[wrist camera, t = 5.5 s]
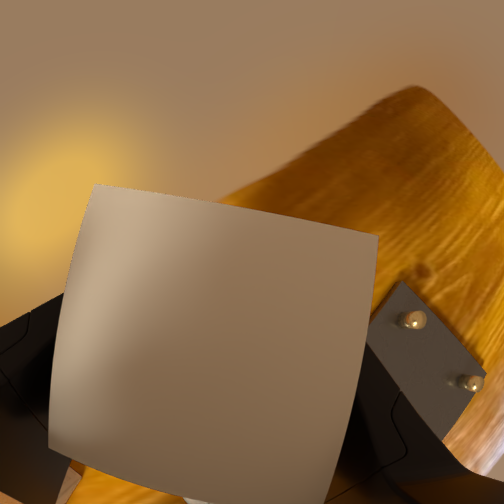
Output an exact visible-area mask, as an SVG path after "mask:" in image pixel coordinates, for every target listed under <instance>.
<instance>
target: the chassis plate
mask: <svg viewBox="0 0 504 504" xmlns="http://www.w3.org/2000/svg"><path fill="white" fill-rule="evenodd" d="M366 342H367V343H368V345H369V346H370V347H371V349H372V350H373V352H374V353H375V354H376V356H377V357H378V358H379V360H380V361H381V362H382V364H383V365H384V367H385V368H386V369H387V371H388V372H389V374H390V375H391V376H392V378H393V379H394V380H395V382H396V383H397V385H398V386H399V387H400V391H402V392H403V393H404V394H405V396H406V397H407V399H408V400H409V401H410V403H411V404H412V405H413V407H414V408H415V409H416V411H417V412H418V414H419V415H420V416H421V417H422V419H423V420H424V421H425V422H426V424H427V425H428V426H429V427H430V428H431V430H432V431H433V432H434V433H435V434H436V436H437V437H438V438H439V439H440V440H441V441H442V440H443V439H444V437H445V436H446V435H447V433H448V432H449V431H450V429H451V428H452V427H453V425H454V424H455V423H456V421H457V420H458V418H459V417H460V415H461V414H462V413H463V411H464V410H465V408H466V407H467V405H468V404H469V402H470V400H471V399H472V397H473V396H474V394H475V393H476V392H480V391H481V390H482V388H483V386H484V378H485V376H486V374H487V373H486V372H485V371H484V370H483V368H482V367H481V366H480V365H479V364H478V362H477V361H476V360H475V359H474V358H473V357H472V355H471V354H470V353H469V352H468V351H467V350H466V348H465V347H464V346H463V345H462V344H461V343H460V342H459V340H458V339H457V338H456V337H455V336H454V335H453V334H452V333H451V331H450V330H449V329H448V328H447V327H446V326H445V325H444V324H443V323H442V322H441V321H440V319H439V318H438V317H437V316H436V315H435V314H434V313H433V312H432V311H431V310H430V309H429V308H428V307H427V306H426V304H425V303H424V302H423V301H422V300H421V299H420V298H419V297H418V296H417V295H416V294H415V293H414V292H413V291H412V290H411V289H410V288H409V287H408V286H407V285H406V284H405V283H404V282H403V281H399V282H396V283H395V285H394V286H393V287H392V289H391V290H390V291H389V293H388V294H387V296H386V297H385V298H384V300H383V301H382V302H381V304H380V305H379V306H378V308H377V309H376V310H375V312H374V313H373V314H372V315H371V317H370V318H369V324H368V330H367V336H366Z"/></svg>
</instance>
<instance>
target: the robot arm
mask: <svg viewBox="0 0 504 504" xmlns="http://www.w3.org/2000/svg"><path fill="white" fill-rule="evenodd" d="M63 296H64V293H62V294H61V295H59V296H57V297H55V298H53V299H51V300H49V301H47V302H46V303H44V304H42V305H40V306H39V307H37V308H35V309H33V310H31V313H30V312H28V313H26V314H24V315H22V316H21V317H19V318H17V319H15V320H13V321H11V322H9V323H8V324H6V325H4V326H2V327H0V504H56V501H57V498H58V495H59V493H60V490H61V487H62V484H63V481H64V479H65V476H66V473H67V470H68V468H69V465H70V462H71V460H72V459H71V458H69V457H67V456H64V455H62V454H60V453H58V452H56V451H54V450H52V449H50V448H48V428H49V402H50V388H51V376H52V367H53V358H54V350H55V343H56V336H57V329H58V323H59V317H60V312H61V306H62V301H63ZM324 504H504V482H502V481H499V480H495V479H492V478H489V477H485V476H482V475H479V474H476V473H474V472H472V471H470V470H468V469H467V468H465V467H464V466H463V465H462V464H461V463H460V462H459V461H458V460H457V459H456V458H455V457H454V456H453V454H452V453H451V452H450V451H449V450H448V448H447V447H446V446H445V445H444V444H443V443H442V441H441V440H440V439H439V438H438V437H437V436H436V434H435V433H434V432H433V431H432V430H431V428H430V427H429V426H428V425H427V424H426V422H425V421H424V420H423V419H422V417H421V416H420V415H419V414H418V412H417V411H416V409H415V408H414V407H413V405H412V404H411V403H410V401H409V400H408V399H407V397H406V396H405V394H404V393H403V392H402V391H400V387H399V386H398V385H397V383H396V382H395V380H394V379H393V378H392V376H391V375H390V374H389V372H388V371H387V369H386V368H385V367H384V365H383V364H382V362H381V361H380V360H379V358H378V357H377V356H376V354H375V353H374V352H373V350H372V349H371V347H370V346H369V345H368V343H367V342H365V348H364V353H363V359H362V364H361V369H360V374H359V379H358V383H357V388H356V393H355V397H354V401H353V406H352V410H351V414H350V418H349V422H348V426H347V430H346V433H345V437H344V441H343V444H342V448H341V451H340V455H339V458H338V461H337V465H336V468H335V471H334V474H333V477H332V481H331V484H330V487H329V490H328V492H327V495H326V498H325V501H324Z"/></svg>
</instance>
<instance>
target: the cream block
mask: <svg viewBox="0 0 504 504" xmlns="http://www.w3.org/2000/svg"><path fill="white" fill-rule="evenodd" d="M378 238H379V236H377V235H373V234H369V233H364V232H360V231H355V230H351V229H346V228H342V227H337V226H332V225H328V224H323V223H318V222H314V221H309V220H304V219H299V218H294V217H289V216H284V215H279V214H274V213H269V212H264V211H258V210H253V209H248V208H242V207H237V206H232V205H226V204H220V203H215V202H208V201H203V200H198V199H191V198H186V197H180V196H174V195H167V194H160V193H154V192H148V191H142V190H135V189H128V188H121V187H115V186H108V185H100V184H94V188H93V190H92V194H91V196H90V199H89V202H88V205H87V208H86V211H85V215H84V218H83V221H82V225H81V228H80V231H79V235H78V239H77V242H76V245H75V250H74V253H73V257H72V261H71V265H70V269H69V273H68V278H67V282H66V287H65V291H64V296H63V301H62V306H61V312H60V317H59V323H58V329H57V336H56V343H55V350H54V358H53V367H52V376H51V388H50V402H49V428H48V448H50V449H52V450H54V451H56V452H58V453H60V454H62V455H64V456H67V457H69V458H71V459H73V460H75V461H77V462H80V463H82V464H84V465H87V466H89V467H91V468H94V469H96V470H99V471H101V472H104V473H106V474H109V475H112V476H114V477H117V478H120V479H123V480H126V481H129V482H132V483H135V484H138V485H141V486H144V487H147V488H151V489H154V490H158V491H161V492H165V493H169V494H172V495H176V496H181V497H185V498H189V499H194V500H198V501H203V502H208V503H214V504H324V501H325V498H326V495H327V492H328V490H329V487H330V484H331V481H332V477H333V474H334V471H335V468H336V465H337V461H338V458H339V455H340V451H341V448H342V444H343V441H344V437H345V433H346V430H347V426H348V422H349V418H350V414H351V410H352V406H353V401H354V397H355V393H356V388H357V383H358V379H359V374H360V369H361V364H362V359H363V353H364V348H365V342H366V336H367V330H368V324H369V317H370V311H371V303H372V296H373V288H374V280H375V271H376V261H377V250H378Z"/></svg>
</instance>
